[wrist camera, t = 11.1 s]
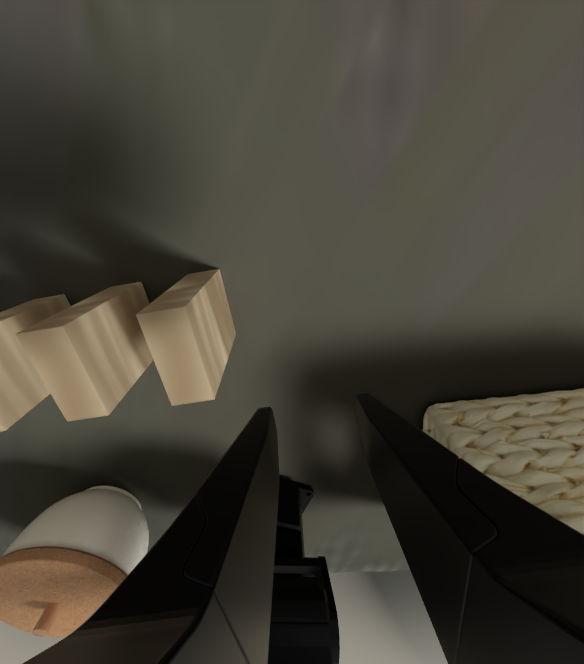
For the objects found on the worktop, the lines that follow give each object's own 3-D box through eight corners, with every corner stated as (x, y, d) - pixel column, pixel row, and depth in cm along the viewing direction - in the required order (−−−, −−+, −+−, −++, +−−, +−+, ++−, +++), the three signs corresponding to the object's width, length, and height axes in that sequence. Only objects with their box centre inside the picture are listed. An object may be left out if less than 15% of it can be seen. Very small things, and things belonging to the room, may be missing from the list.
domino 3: (219, 268, 20) (184, 306, 13) (236, 334, 22) (214, 399, 15) (188, 273, 20) (135, 314, 13) (207, 338, 22) (172, 405, 15)
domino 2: (141, 281, 20) (62, 326, 13) (164, 345, 22) (108, 415, 15) (110, 286, 20) (15, 334, 13) (136, 349, 22) (67, 421, 15)
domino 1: (64, 294, 20) (-56, 345, 13) (94, 356, 22) (5, 430, 15) (34, 298, 20) (-103, 352, 13) (67, 360, 23) (-35, 436, 15)
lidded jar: (116, 451, 26) (36, 571, 18) (186, 519, 30) (150, 643, 22) (27, 493, 28) (-85, 621, 19) (105, 551, 32) (41, 679, 23)
